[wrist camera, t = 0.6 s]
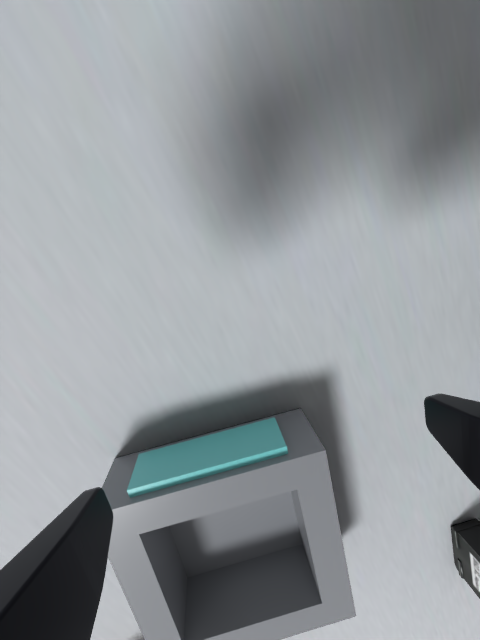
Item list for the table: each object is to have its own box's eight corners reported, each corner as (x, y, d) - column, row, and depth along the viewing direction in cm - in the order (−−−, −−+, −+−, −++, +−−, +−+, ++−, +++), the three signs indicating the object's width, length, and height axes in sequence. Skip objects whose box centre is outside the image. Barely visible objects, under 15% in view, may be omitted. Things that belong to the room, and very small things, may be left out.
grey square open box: (299, 401, 21) (324, 442, 16) (328, 549, 24) (356, 616, 20) (112, 451, 20) (86, 508, 16) (169, 597, 23) (161, 676, 19)
